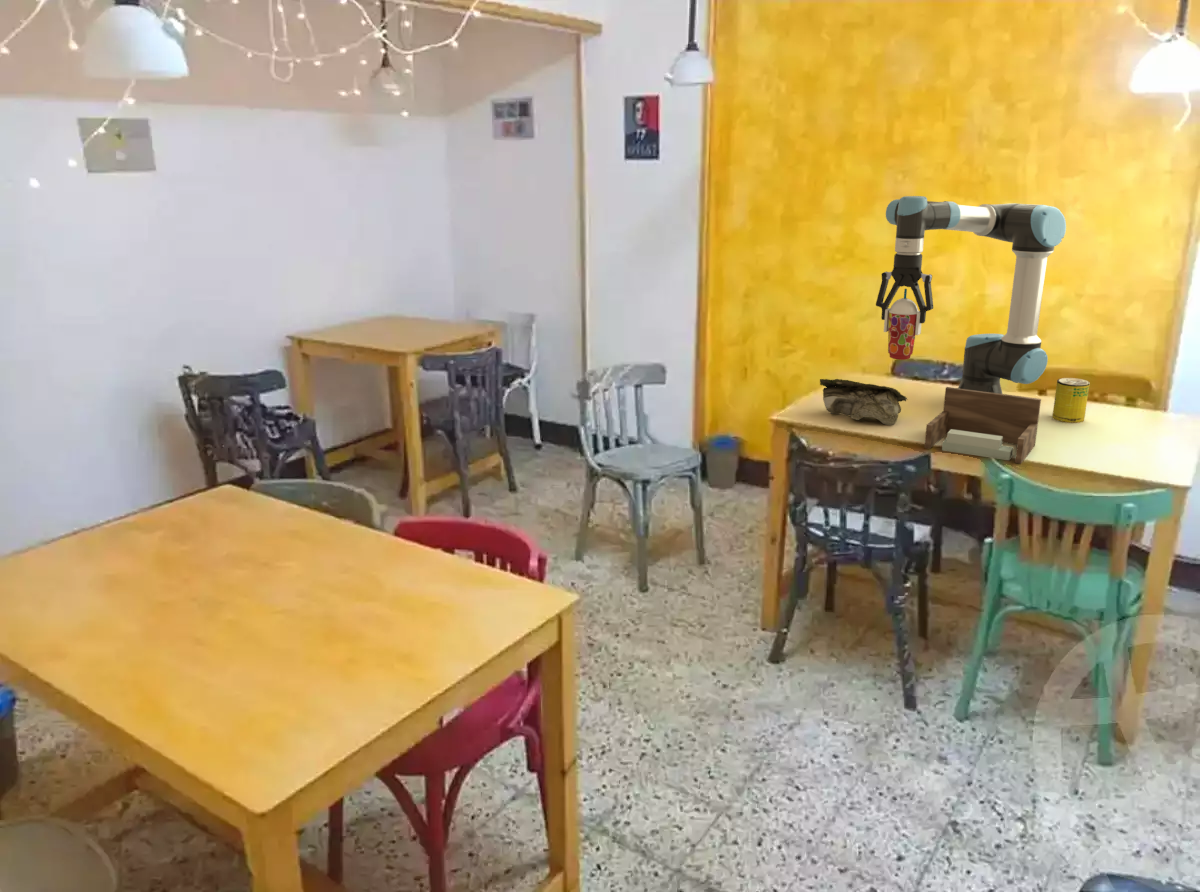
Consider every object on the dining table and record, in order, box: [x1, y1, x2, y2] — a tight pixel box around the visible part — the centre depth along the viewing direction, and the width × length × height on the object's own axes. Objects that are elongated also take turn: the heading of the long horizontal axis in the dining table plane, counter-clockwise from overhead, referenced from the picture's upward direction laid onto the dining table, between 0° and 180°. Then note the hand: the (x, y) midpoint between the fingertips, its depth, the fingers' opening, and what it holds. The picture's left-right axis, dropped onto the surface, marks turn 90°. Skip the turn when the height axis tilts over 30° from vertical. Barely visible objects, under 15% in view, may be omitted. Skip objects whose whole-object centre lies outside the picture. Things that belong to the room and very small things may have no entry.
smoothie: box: [887, 288, 920, 361], centre depth 268 cm, size 8×8×20 cm
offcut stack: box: [941, 429, 1014, 461], centre depth 263 cm, size 4×18×6 cm, turn 57°
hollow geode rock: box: [819, 378, 908, 426], centre depth 295 cm, size 28×13×15 cm
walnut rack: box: [924, 386, 1042, 465], centre depth 266 cm, size 18×26×14 cm
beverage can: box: [1051, 377, 1090, 424], centre depth 290 cm, size 9×9×12 cm
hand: (901, 332), depth 269 cm, fingers closed on smoothie, 8 cm apart
